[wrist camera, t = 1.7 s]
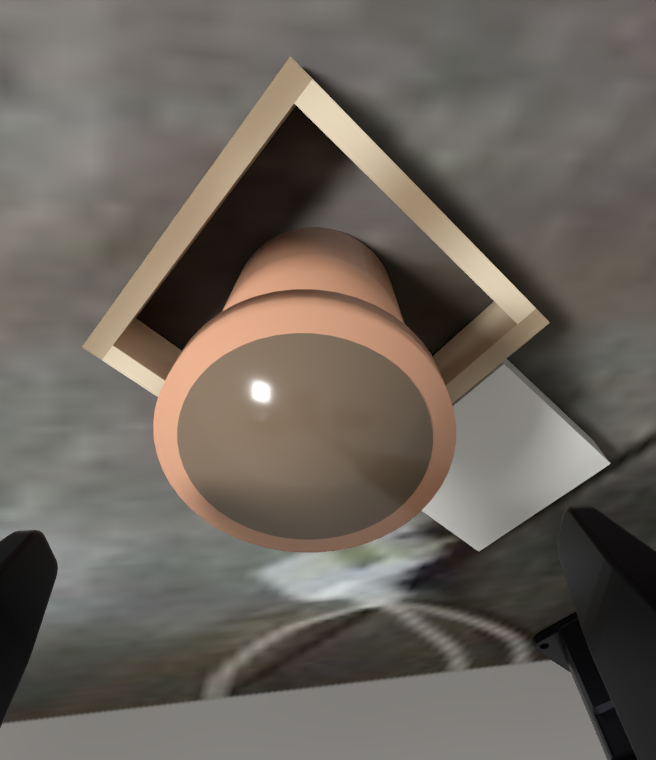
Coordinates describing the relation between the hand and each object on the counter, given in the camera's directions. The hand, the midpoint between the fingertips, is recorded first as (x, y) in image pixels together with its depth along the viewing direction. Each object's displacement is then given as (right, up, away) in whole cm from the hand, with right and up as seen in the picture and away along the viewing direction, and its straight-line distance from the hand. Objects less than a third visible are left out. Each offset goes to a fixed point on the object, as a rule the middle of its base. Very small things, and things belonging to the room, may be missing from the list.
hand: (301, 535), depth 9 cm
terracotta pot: (0, +5, +9) cm, 10 cm away
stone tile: (+7, 0, +12) cm, 14 cm away
